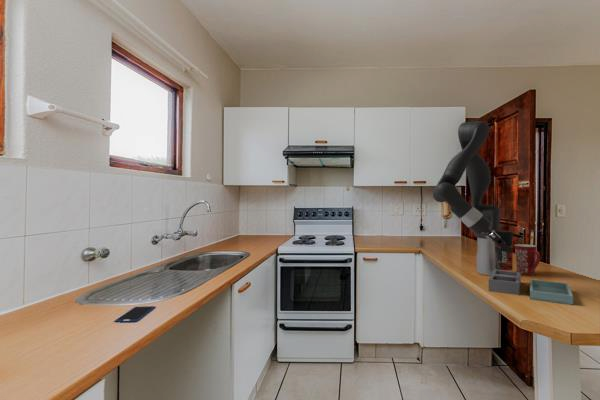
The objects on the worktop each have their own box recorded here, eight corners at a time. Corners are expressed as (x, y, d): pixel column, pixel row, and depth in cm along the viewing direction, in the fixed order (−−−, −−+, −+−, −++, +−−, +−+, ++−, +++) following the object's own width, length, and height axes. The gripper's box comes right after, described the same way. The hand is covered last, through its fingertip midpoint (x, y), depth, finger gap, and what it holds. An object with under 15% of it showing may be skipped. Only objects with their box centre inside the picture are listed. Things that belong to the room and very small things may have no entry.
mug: (510, 271, 161) (509, 244, 161) (527, 270, 162) (527, 243, 162) (528, 277, 149) (528, 248, 149) (548, 277, 149) (547, 247, 149)
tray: (573, 305, 110) (573, 296, 110) (530, 299, 117) (529, 290, 117) (567, 291, 126) (567, 283, 126) (530, 286, 133) (530, 279, 133)
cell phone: (112, 323, 98) (112, 321, 98) (135, 308, 112) (135, 306, 112) (137, 323, 98) (137, 321, 98) (156, 308, 112) (156, 306, 112)
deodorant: (507, 267, 132) (507, 230, 132) (515, 270, 126) (515, 232, 126) (492, 267, 132) (492, 230, 132) (499, 270, 127) (499, 232, 126)
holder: (519, 295, 122) (519, 283, 122) (488, 290, 128) (488, 279, 128) (520, 282, 139) (520, 272, 139) (493, 279, 145) (493, 269, 145)
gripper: (485, 215, 125) (521, 247, 121) (479, 212, 138) (511, 241, 134) (469, 228, 127) (505, 260, 123) (465, 225, 140) (497, 253, 136)
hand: (508, 250), depth 128 cm, fingers closed on deodorant, 6 cm apart
